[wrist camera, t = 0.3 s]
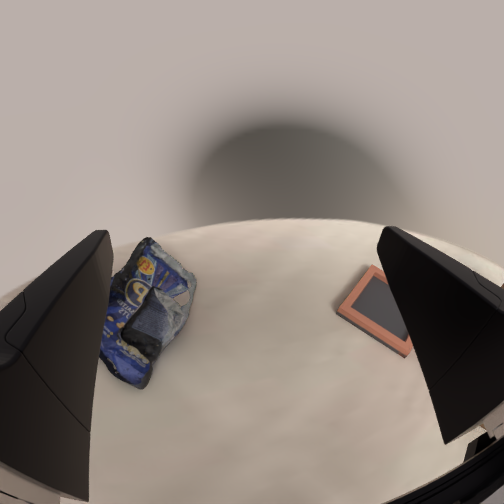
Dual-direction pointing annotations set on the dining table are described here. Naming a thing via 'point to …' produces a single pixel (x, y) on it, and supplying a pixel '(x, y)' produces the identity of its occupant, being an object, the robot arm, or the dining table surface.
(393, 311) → the tile
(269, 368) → the dining table surface
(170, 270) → the snack package
